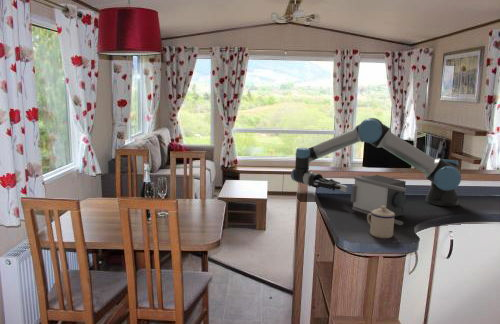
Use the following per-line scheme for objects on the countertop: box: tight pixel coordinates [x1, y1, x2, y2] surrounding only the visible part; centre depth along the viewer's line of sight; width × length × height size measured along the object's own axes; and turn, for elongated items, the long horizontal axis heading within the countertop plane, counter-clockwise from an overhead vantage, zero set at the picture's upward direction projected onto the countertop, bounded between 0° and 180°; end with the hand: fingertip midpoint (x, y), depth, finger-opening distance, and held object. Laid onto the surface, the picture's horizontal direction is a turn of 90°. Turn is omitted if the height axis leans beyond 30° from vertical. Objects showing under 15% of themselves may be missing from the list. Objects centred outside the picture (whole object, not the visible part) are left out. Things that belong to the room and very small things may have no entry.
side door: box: [350, 179, 388, 212], centre depth 183 cm, size 3×18×13 cm, turn 33°
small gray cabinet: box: [351, 174, 407, 226], centre depth 183 cm, size 14×27×16 cm, turn 33°
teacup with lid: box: [366, 206, 395, 239], centre depth 158 cm, size 12×9×12 cm
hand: (346, 189), depth 194 cm, fingers closed
